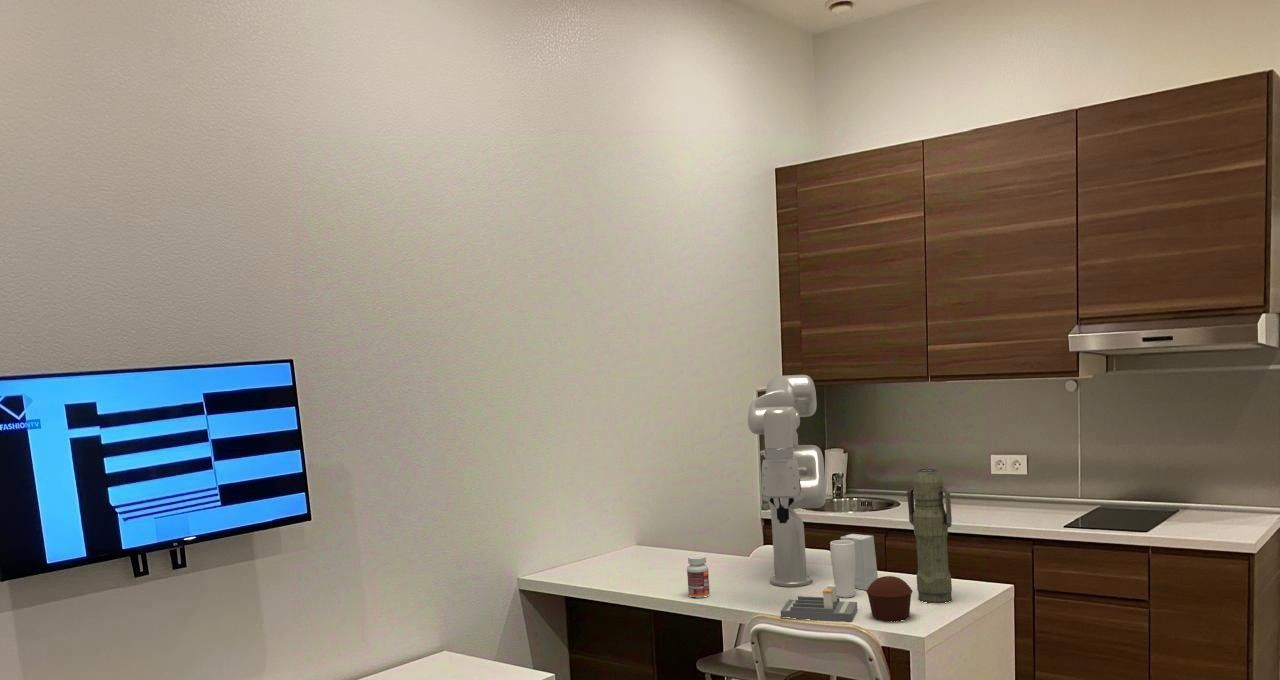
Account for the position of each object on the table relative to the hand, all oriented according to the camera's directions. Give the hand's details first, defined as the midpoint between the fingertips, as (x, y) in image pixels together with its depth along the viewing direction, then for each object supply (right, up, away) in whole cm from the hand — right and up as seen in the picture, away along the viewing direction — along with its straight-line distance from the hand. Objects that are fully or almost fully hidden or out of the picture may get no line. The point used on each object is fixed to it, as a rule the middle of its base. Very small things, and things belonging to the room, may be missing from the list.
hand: (783, 522), depth 247 cm
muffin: (+25, -22, -14) cm, 36 cm away
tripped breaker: (+10, -20, -12) cm, 25 cm away
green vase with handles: (+41, -21, +1) cm, 46 cm away
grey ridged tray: (+8, -22, -8) cm, 25 cm away
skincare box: (+26, -23, +19) cm, 39 cm away
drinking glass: (+19, -23, +10) cm, 31 cm away
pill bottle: (-22, -25, +18) cm, 38 cm away
